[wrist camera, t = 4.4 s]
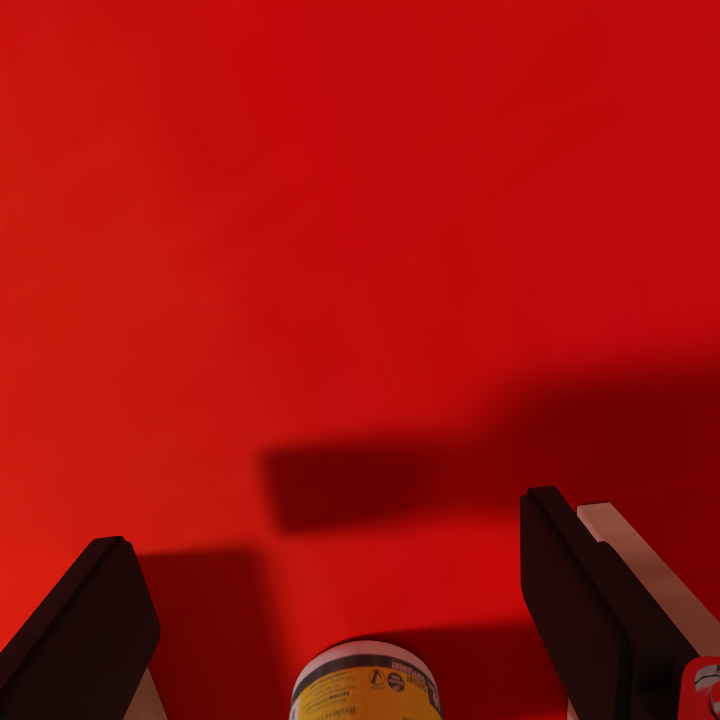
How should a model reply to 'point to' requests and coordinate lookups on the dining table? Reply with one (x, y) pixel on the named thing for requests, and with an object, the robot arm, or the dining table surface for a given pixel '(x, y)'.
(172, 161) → the dining table surface
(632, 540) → the open-sided box
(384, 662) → the supplement bottle
